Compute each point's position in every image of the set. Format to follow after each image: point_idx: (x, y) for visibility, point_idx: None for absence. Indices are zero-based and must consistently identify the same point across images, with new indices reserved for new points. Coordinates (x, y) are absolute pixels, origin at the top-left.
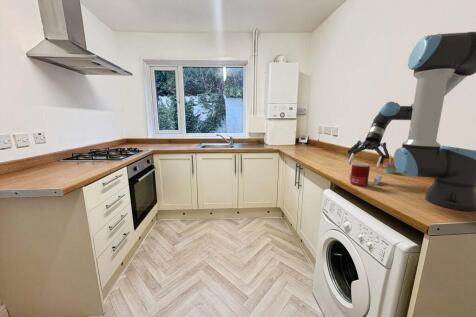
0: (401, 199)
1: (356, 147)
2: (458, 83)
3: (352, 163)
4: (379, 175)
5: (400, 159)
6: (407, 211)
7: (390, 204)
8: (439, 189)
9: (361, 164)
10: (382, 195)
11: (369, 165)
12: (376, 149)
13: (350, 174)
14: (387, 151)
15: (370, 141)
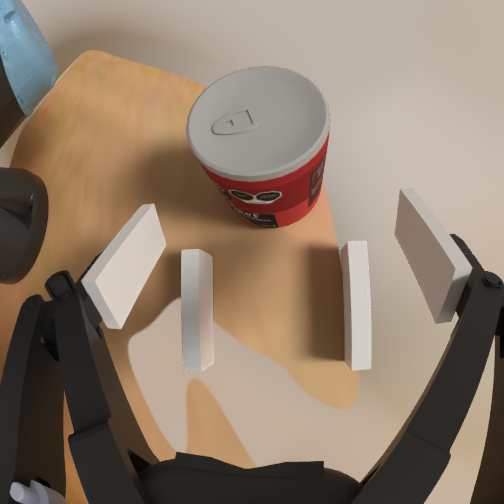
0: (101, 135)
1: (500, 435)
2: None
3: (320, 90)
4: (196, 365)
5: (30, 21)
6: (101, 67)
7: (129, 69)
8: (3, 170)
9: (255, 123)
10: (150, 117)
11: (187, 121)
12: (111, 405)
13: (360, 241)
14: (10, 352)
15: None
